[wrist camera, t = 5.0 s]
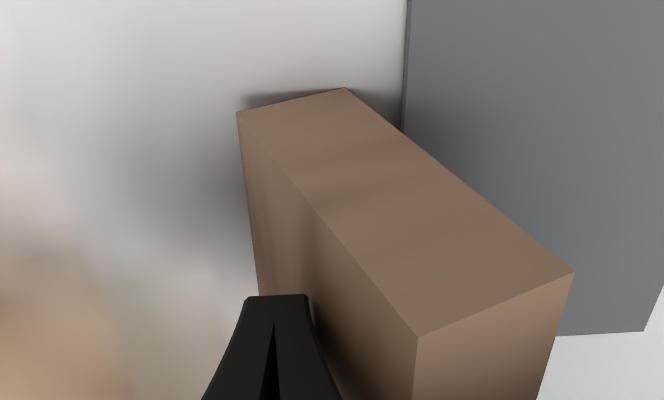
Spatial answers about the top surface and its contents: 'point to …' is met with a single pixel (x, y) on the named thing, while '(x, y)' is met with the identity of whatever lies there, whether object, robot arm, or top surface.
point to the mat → (553, 133)
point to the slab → (395, 257)
